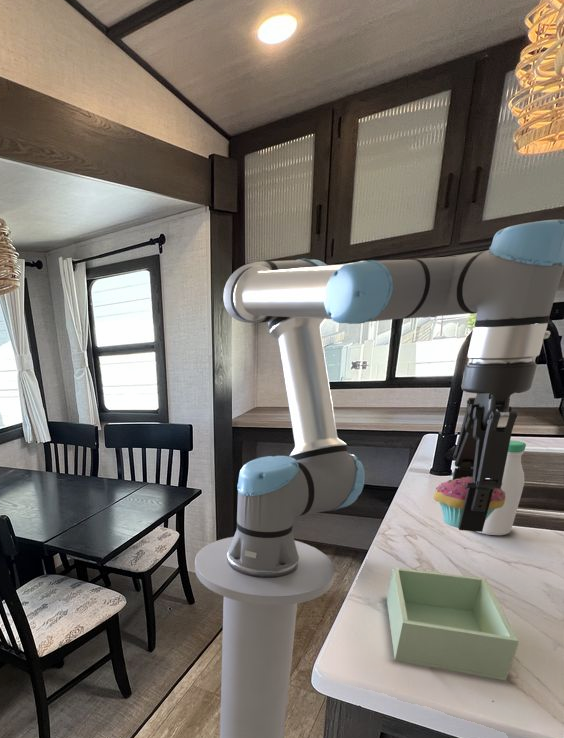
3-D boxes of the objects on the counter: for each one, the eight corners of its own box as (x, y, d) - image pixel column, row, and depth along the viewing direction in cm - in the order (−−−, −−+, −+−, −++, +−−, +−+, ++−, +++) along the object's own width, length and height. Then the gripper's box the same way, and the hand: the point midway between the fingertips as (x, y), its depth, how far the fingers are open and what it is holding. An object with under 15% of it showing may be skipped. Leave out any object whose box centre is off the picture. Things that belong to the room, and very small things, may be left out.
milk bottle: (519, 534, 103) (546, 444, 95) (485, 537, 102) (510, 447, 94) (491, 521, 110) (514, 436, 102) (459, 524, 109) (480, 440, 101)
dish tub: (386, 600, 83) (392, 567, 80) (476, 612, 78) (486, 578, 75) (394, 660, 69) (402, 622, 66) (505, 681, 63) (519, 641, 61)
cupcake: (478, 513, 74) (497, 438, 69) (511, 534, 67) (535, 452, 62) (419, 514, 76) (434, 440, 71) (444, 535, 68) (463, 454, 63)
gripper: (571, 366, 52) (515, 550, 61) (511, 353, 69) (475, 497, 78) (488, 369, 55) (447, 544, 64) (451, 356, 72) (423, 494, 81)
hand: (463, 518), depth 71 cm, fingers closed on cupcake, 8 cm apart
